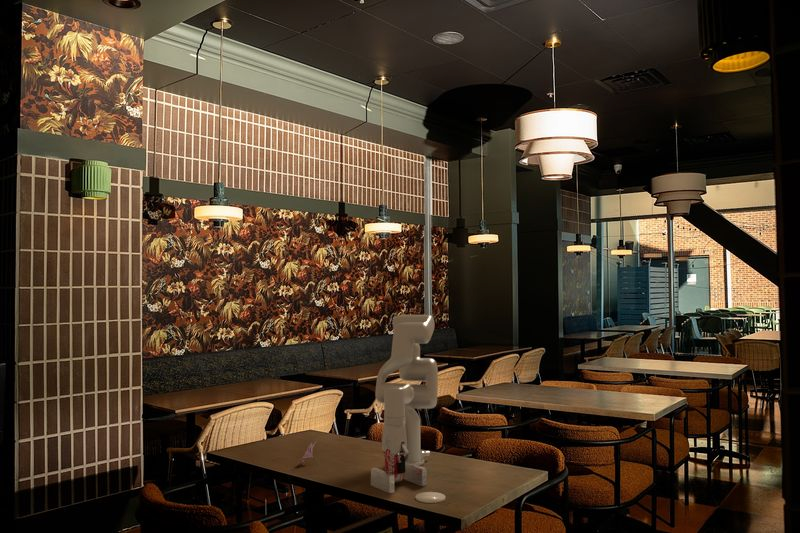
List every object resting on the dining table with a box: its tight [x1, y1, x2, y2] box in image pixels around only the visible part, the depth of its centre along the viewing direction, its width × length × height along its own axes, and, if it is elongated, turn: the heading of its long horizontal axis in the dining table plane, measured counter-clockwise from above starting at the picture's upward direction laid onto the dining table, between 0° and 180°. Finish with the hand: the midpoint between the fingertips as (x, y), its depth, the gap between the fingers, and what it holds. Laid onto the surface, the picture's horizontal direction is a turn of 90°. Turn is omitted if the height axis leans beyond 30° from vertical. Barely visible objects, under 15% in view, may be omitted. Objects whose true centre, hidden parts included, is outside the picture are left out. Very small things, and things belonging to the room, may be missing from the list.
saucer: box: [415, 491, 446, 504], centre depth 214 cm, size 10×10×1 cm
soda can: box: [384, 447, 405, 483], centre depth 231 cm, size 7×7×12 cm
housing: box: [370, 462, 428, 494], centre depth 229 cm, size 16×12×6 cm
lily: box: [295, 441, 319, 467], centre depth 259 cm, size 12×12×10 cm
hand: (395, 470), depth 231 cm, fingers closed on soda can, 7 cm apart
